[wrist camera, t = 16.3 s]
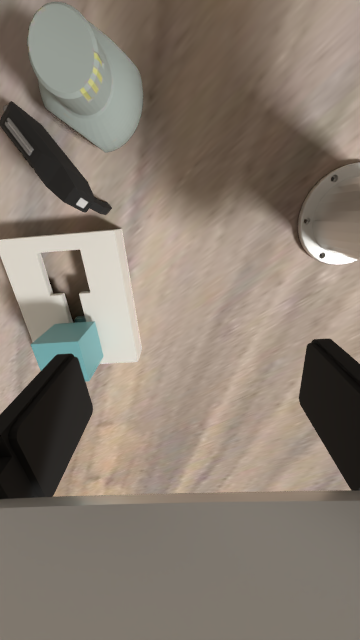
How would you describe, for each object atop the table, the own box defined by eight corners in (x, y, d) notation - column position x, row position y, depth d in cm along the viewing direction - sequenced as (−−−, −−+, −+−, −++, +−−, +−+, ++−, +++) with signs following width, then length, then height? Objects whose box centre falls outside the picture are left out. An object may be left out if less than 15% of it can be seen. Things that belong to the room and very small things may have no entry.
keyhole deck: (121, 228, 34) (114, 230, 30) (141, 349, 42) (137, 361, 38) (14, 237, 35) (-6, 240, 31) (54, 354, 43) (42, 367, 39)
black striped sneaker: (65, 140, 35) (-10, 79, 25) (128, 218, 32) (70, 181, 22) (54, 156, 35) (-23, 103, 26) (115, 233, 33) (54, 204, 23)
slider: (105, 308, 39) (77, 341, 29) (112, 340, 41) (89, 381, 31) (70, 311, 39) (30, 344, 29) (79, 342, 42) (45, 383, 32)
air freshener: (45, 108, 29) (-20, 59, 20) (72, 27, 26) (11, -75, 17) (125, 167, 31) (99, 147, 22) (158, 98, 28) (145, 42, 19)
